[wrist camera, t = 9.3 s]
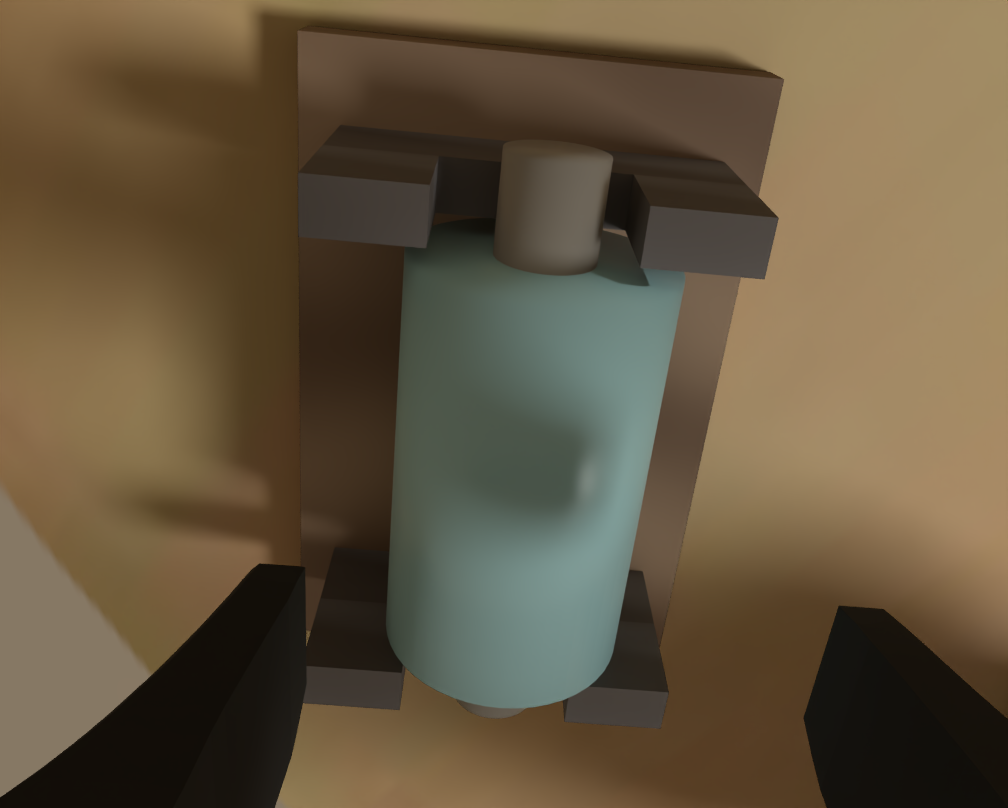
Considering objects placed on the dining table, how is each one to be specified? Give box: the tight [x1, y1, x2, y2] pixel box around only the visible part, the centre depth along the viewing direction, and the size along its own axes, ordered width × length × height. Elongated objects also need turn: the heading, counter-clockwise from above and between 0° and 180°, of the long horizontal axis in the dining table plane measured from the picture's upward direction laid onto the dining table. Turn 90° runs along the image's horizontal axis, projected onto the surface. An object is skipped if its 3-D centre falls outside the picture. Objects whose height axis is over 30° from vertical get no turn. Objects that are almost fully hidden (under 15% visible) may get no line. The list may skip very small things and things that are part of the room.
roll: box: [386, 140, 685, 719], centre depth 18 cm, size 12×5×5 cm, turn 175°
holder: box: [298, 26, 784, 729], centre depth 19 cm, size 14×9×5 cm, turn 175°
